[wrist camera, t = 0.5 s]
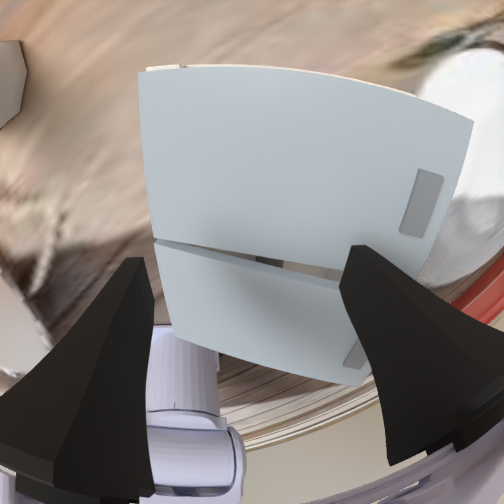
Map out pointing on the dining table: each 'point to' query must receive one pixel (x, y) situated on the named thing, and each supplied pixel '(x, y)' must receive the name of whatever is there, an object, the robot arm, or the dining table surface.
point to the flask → (11, 79)
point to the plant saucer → (484, 295)
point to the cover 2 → (260, 313)
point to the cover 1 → (297, 164)
